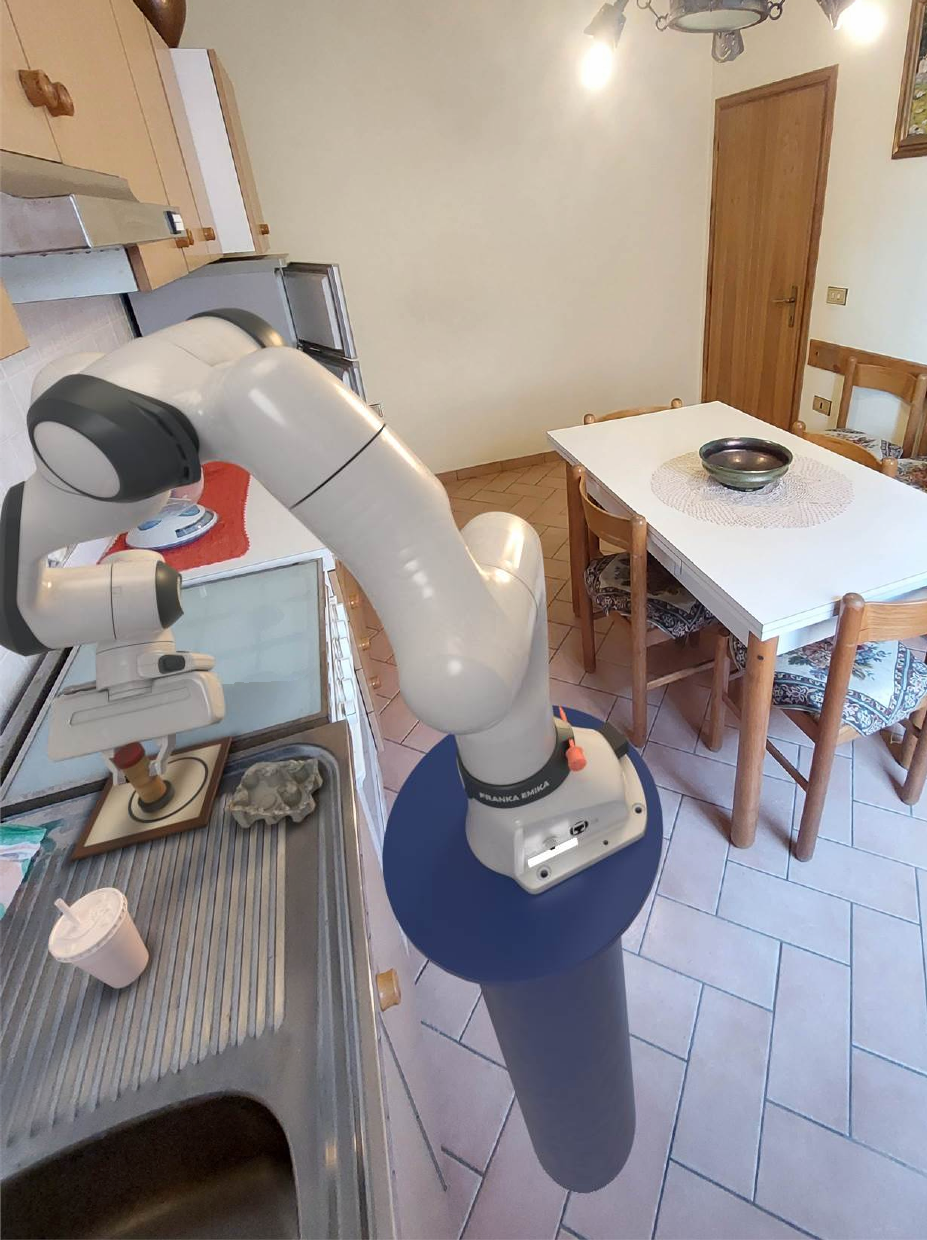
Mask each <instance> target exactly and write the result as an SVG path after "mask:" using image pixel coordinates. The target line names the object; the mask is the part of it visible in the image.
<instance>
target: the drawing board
mask: <svg viewBox="0 0 927 1240" xmlns="http://www.w3.org/2000/svg"><path fill="white" fill-rule="evenodd" d="M233 740H234V738H233V735H230V736H224V737H222V738H217V739H213V740H209V741H205V742H201V743H196V744H191V745H188V746H185V747H180V748H176V749H173V750H172V752H171V754H170V756H169V758H168V759H167V761H168V772H167V774H164V775H160V777H161V779H162V780H168V781H170V782H171V784H172V785H173V787H174V789H175V794H174V797H173V798H172V800H171V801H170V802H169V803H168V804H167V805H166V806H165V807H164V808H162V809H161V810H159V811H156V812H153V813H145V812H143V811H142V810H141V808H140V807H139V806H138V798H139V795H138V793H137V792H136V790H135V789H134V788H133V786H132V785H131V783H127V784H123V785H120V786H116V787H115V786H114V785H113V772H111V771H110V774H109V776H108V778H107V780H106V782H105V785H104V787H103V788H102V791H101V793H100V795H99V797H98V799H97V801H96V803H95V805H94V807H93V809H92V811H91V813H90V816H89V818H88V820H87V822H86V824H85V826H84V828H83V829H82V832H81V834H80V837H79V839H78V841H77V842H76V845H75V847H74V849H73V851H72V853H71V855H70V857H69V860H70V861H71V862H76V861H80V860H83V859H87V858H90V857H94V856H98V855H101V854H105V853H109V852H114V851H117V850H121V849H125V848H129V847H132V846H136V845H139V844H143V843H148V842H151V841H154V840H159V839H163V838H166V837H170V836H174V835H177V834H181V833H184V832H189V831H193V830H196V829H200V828H204V827H207V826H208V825H209V821H210V818H211V814H212V811H213V807H214V804H215V800H216V798H217V795H218V791H219V787H220V784H221V780H222V777H223V773H224V770H225V767H226V763H227V760H228V758H229V757H228V756H229V753H230V750H231V746H232V743H233ZM158 754H159V753H156V754H151V755H146V756H147V757H148V759H149V760H150V762H151V763H153V762H155V760H156V758H157V756H158Z"/></svg>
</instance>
